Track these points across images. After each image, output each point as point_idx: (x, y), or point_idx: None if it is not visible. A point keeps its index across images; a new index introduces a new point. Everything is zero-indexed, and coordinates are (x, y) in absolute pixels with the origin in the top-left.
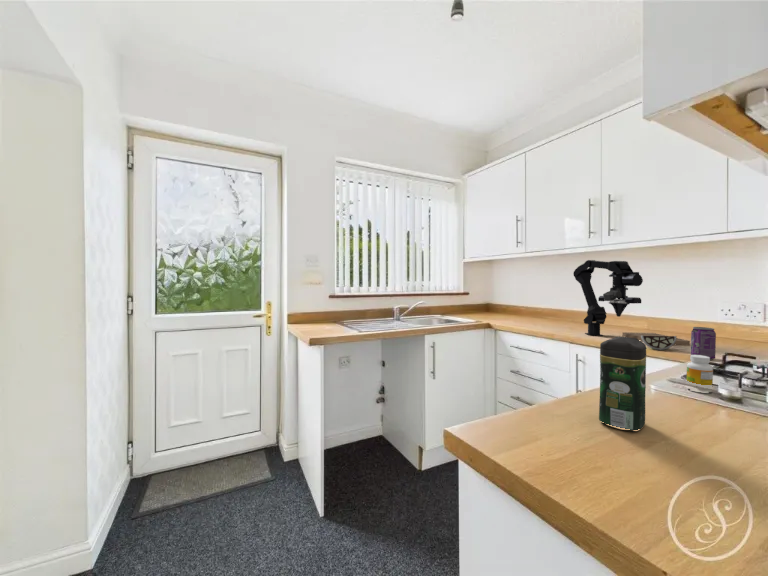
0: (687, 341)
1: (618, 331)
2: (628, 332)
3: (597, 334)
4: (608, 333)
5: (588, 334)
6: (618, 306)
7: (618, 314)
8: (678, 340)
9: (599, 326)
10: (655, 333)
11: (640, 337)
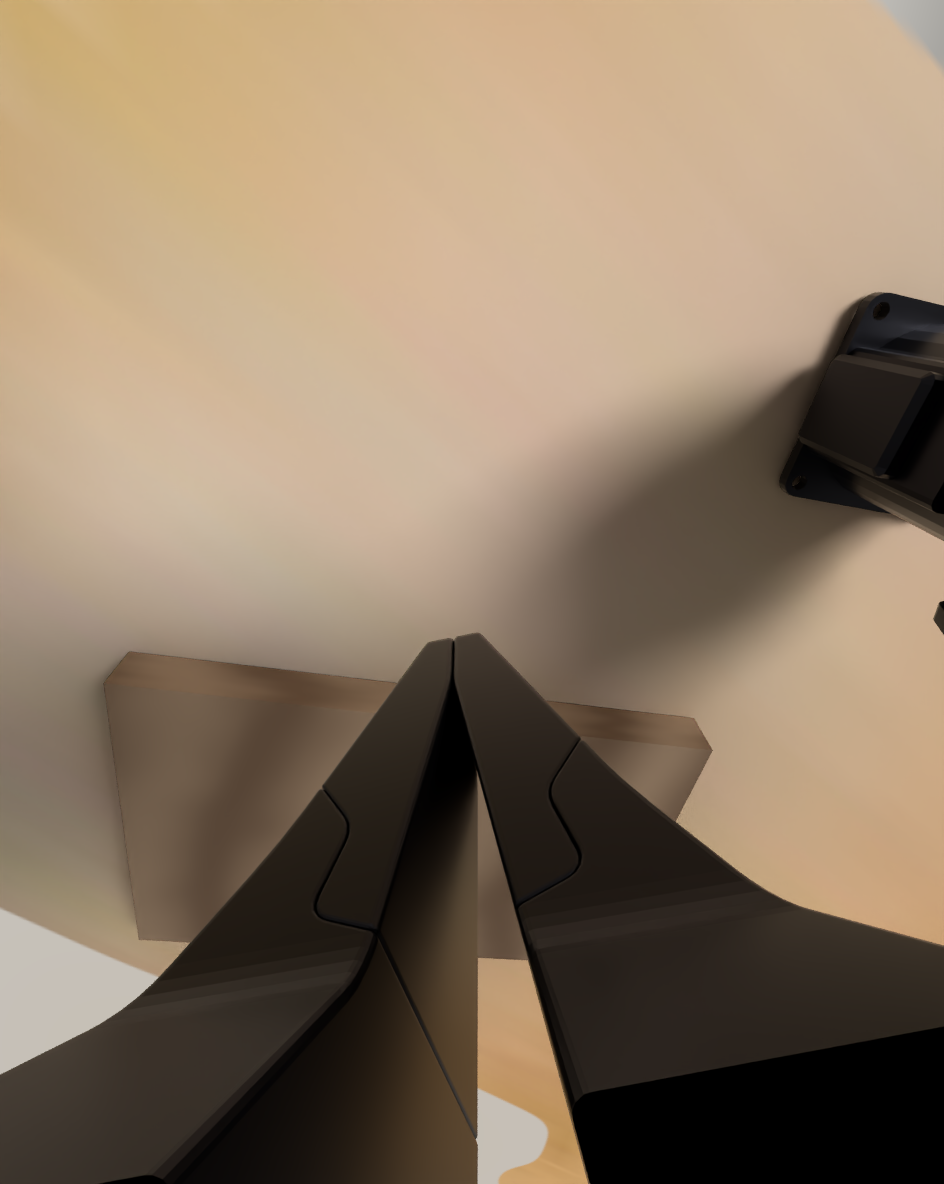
0: (138, 920)
1: (923, 859)
2: (685, 800)
3: (816, 398)
4: (890, 698)
5: (939, 305)
6: (297, 966)
7: (413, 670)
8: (148, 882)
9: (906, 481)
10: None
11: (369, 707)
